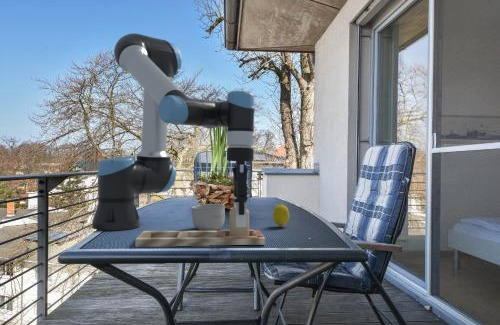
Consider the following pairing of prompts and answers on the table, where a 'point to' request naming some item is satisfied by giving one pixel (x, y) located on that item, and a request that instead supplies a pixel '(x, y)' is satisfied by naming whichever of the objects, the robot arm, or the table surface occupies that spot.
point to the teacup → (208, 216)
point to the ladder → (196, 238)
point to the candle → (232, 224)
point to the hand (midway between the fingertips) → (239, 223)
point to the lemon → (281, 215)
